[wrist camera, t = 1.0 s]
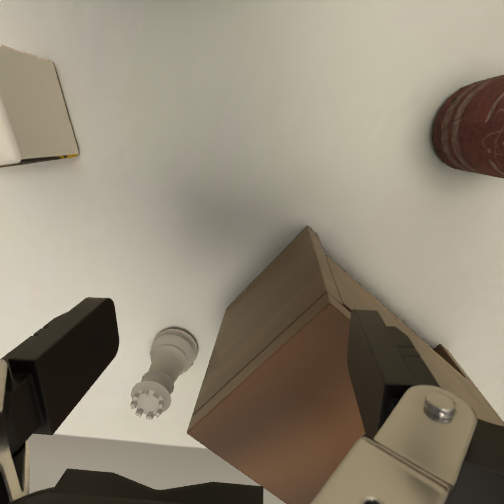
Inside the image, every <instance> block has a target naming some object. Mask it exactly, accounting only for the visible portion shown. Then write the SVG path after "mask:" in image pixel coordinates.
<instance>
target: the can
mask: <svg viewBox="0 0 504 504" xmlns="http://www.w3.org/2000/svg"><path fill="white" fill-rule="evenodd" d="M433 142H434V146H435V150H436V152H437V154H438V155H439V156H440V158H441V159H442V161H443V162H445V163H446V164H448V165H449V166H451V167H452V168H455V169H459V170H463V171H468V172H473V173H479V174H484V175H489V176H494V177H499V178H504V75H501V76H497V77H493V78H490V79H486V80H482V81H479V82H475V83H473V84H470V85H468V86H466V87H463V88H461V89H460V90H458V91H457V92H456V93H455V94H453V95H452V96H451V97H450V98H448V100H447V101H446V102H445V104H444V105H443V107H442V108H441V109H440V111H439V113H438V115H437V118H436V120H435V123H434V128H433Z"/></svg>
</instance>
